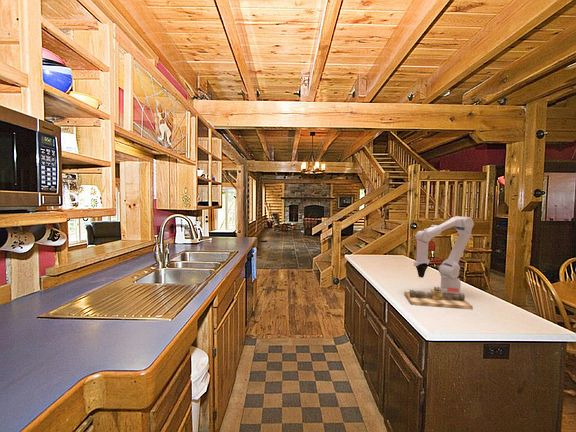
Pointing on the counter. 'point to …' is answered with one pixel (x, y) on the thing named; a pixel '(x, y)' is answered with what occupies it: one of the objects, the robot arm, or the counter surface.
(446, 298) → the valve board
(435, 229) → the robot arm
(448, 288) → the valve lever
